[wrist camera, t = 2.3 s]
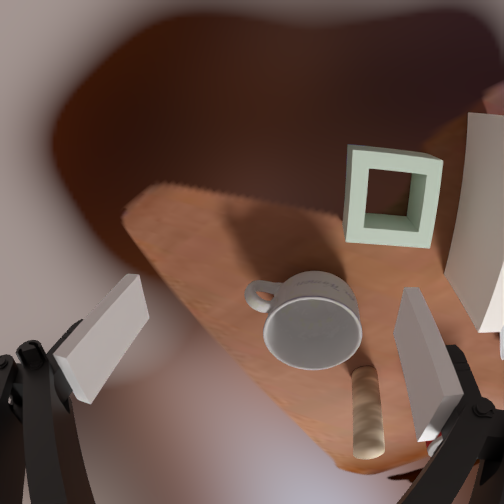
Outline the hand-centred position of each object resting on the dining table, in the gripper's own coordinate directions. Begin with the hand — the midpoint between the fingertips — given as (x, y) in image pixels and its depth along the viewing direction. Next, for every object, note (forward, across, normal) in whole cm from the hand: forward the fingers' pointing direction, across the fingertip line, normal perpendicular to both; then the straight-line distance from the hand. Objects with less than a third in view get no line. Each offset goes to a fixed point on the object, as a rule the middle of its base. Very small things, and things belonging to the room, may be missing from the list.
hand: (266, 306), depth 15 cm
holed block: (+22, -10, -1) cm, 24 cm away
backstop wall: (+22, -21, 0) cm, 30 cm away
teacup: (+22, -2, +13) cm, 26 cm away
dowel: (+22, -12, +27) cm, 37 cm away
